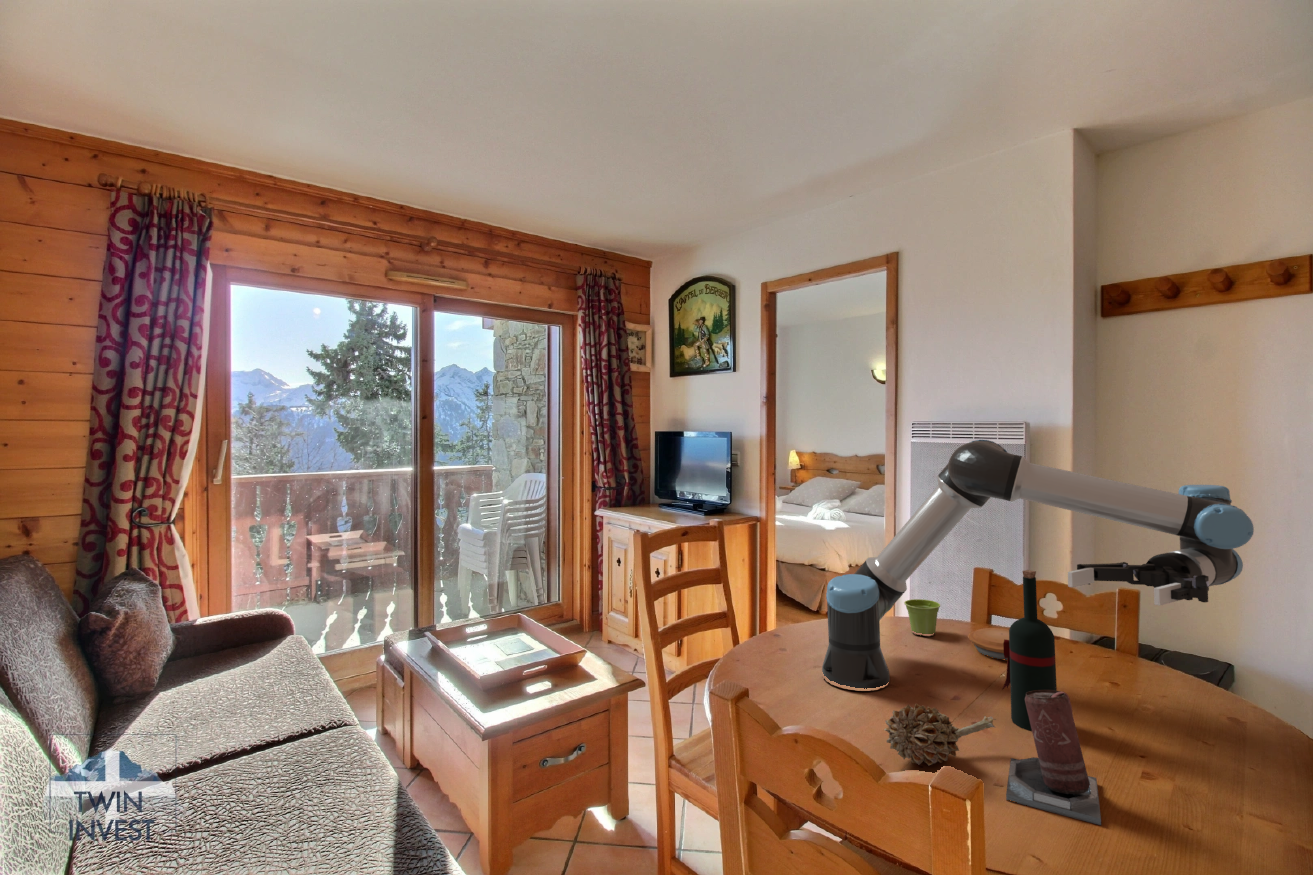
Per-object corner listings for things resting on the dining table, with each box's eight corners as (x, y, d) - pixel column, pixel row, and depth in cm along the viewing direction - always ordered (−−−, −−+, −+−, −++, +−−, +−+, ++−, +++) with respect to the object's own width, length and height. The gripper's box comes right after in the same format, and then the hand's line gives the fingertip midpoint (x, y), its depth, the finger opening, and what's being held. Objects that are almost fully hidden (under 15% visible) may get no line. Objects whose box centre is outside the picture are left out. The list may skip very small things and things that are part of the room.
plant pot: (899, 629, 175) (898, 599, 175) (930, 627, 175) (929, 597, 175) (915, 640, 165) (914, 609, 165) (948, 638, 166) (947, 606, 166)
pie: (981, 638, 165) (981, 620, 165) (1046, 652, 154) (1045, 632, 154) (959, 653, 155) (958, 634, 155) (1026, 669, 143) (1025, 649, 143)
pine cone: (911, 785, 99) (909, 726, 99) (873, 756, 108) (871, 701, 108) (1012, 758, 106) (1010, 702, 106) (968, 732, 115) (966, 681, 115)
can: (1101, 792, 91) (1076, 694, 94) (1058, 796, 91) (1034, 698, 94) (1078, 778, 97) (1055, 686, 100) (1037, 782, 97) (1016, 690, 100)
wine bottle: (1018, 706, 125) (1013, 562, 125) (1067, 727, 116) (1062, 572, 115) (991, 714, 122) (986, 567, 122) (1040, 736, 113) (1034, 577, 112)
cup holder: (1006, 800, 94) (1005, 786, 94) (1011, 763, 104) (1010, 750, 104) (1101, 825, 87) (1100, 810, 87) (1096, 783, 97) (1096, 770, 97)
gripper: (1267, 608, 101) (1200, 629, 93) (1106, 578, 124) (1040, 592, 115) (1266, 564, 101) (1198, 581, 93) (1105, 542, 124) (1038, 554, 115)
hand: (1110, 587), depth 104 cm, fingers open, 13 cm apart
